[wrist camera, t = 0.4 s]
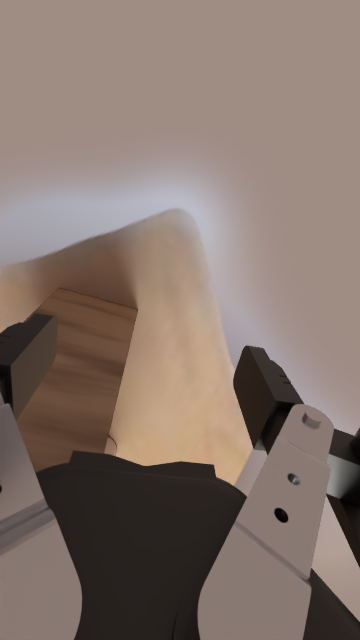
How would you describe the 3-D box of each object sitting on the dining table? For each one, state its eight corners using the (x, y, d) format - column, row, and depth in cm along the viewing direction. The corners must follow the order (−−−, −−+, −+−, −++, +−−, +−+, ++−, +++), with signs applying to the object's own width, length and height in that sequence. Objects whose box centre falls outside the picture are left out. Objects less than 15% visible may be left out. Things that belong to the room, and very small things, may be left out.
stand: (123, 361, 48) (20, 771, 14) (50, 343, 46) (-263, 772, 12) (138, 309, 44) (42, 714, 10) (59, 287, 42) (-374, 703, 8)
